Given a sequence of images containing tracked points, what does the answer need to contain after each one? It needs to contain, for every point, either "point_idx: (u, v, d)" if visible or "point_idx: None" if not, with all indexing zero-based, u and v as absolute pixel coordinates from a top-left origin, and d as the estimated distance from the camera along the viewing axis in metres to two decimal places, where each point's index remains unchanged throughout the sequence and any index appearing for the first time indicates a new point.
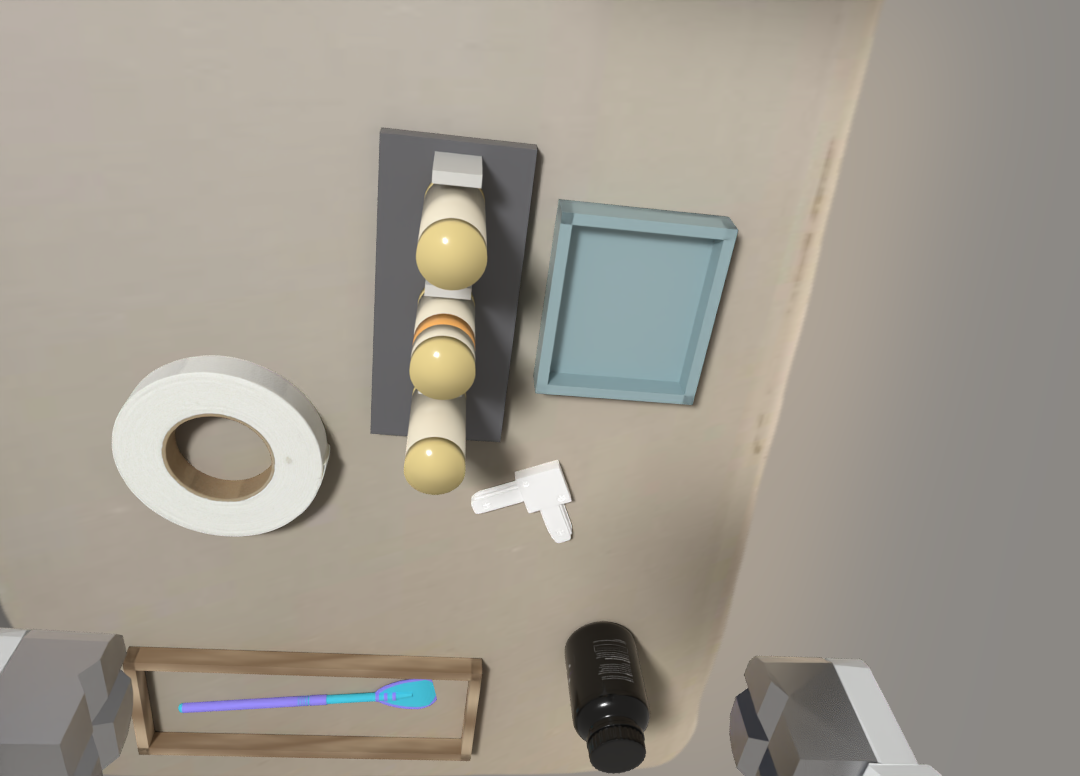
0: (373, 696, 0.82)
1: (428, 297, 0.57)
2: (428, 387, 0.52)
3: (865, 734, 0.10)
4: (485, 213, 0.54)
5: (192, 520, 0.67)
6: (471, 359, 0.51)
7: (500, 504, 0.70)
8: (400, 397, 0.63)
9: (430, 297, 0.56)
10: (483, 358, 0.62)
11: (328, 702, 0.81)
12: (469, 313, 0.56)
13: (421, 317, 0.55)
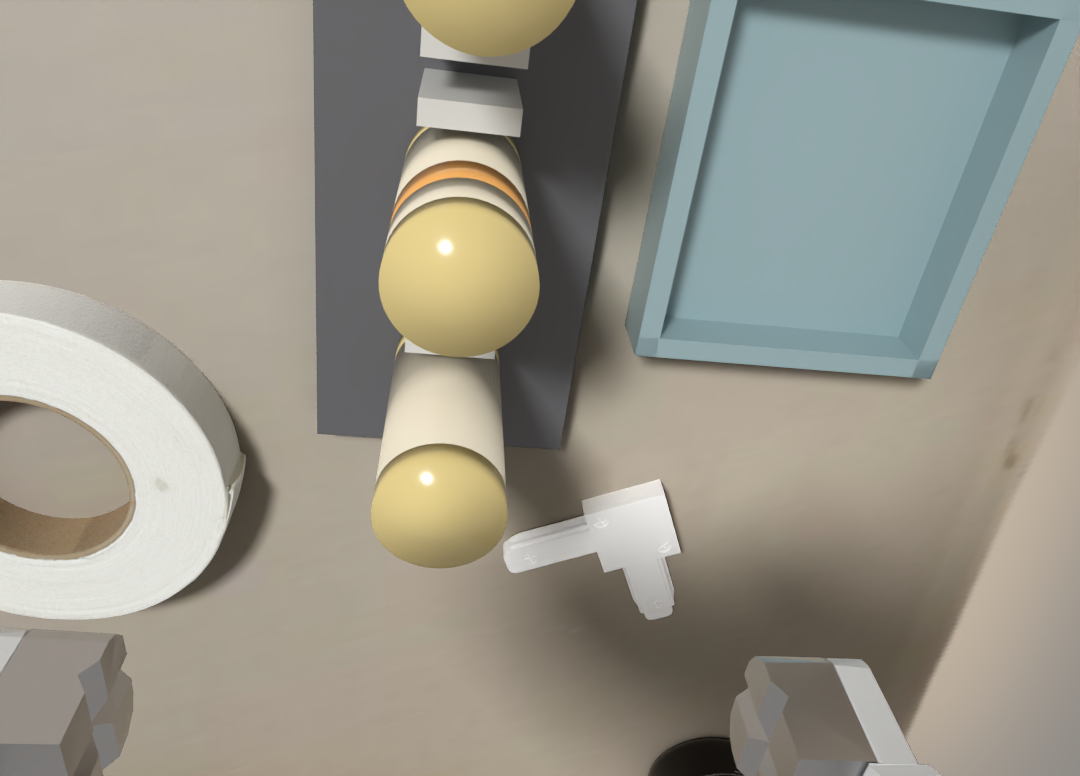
0: None
1: (425, 140, 0.26)
2: (425, 326, 0.22)
3: (865, 734, 0.10)
4: None
5: None
6: (531, 255, 0.21)
7: (555, 557, 0.40)
8: (372, 364, 0.33)
9: (430, 139, 0.26)
10: None
11: None
12: (515, 172, 0.25)
13: (409, 174, 0.24)
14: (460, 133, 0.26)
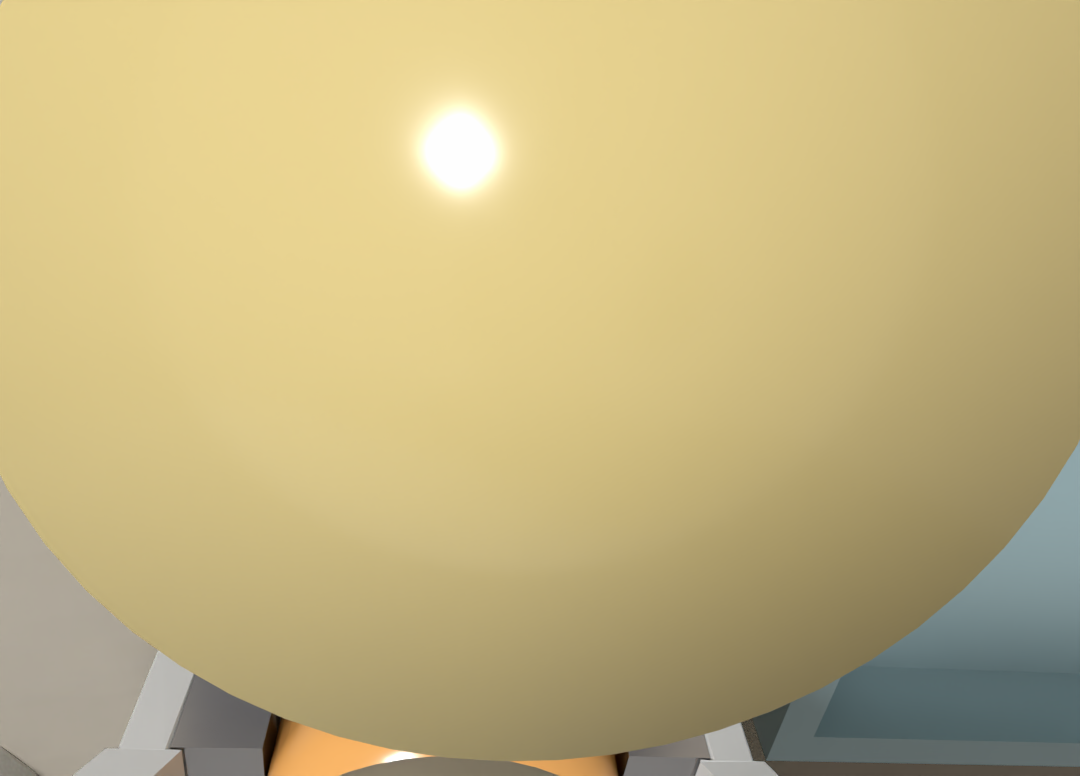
0: None
1: None
2: None
3: None
4: None
5: None
6: None
7: None
8: None
9: None
10: None
11: None
12: None
13: None
14: None
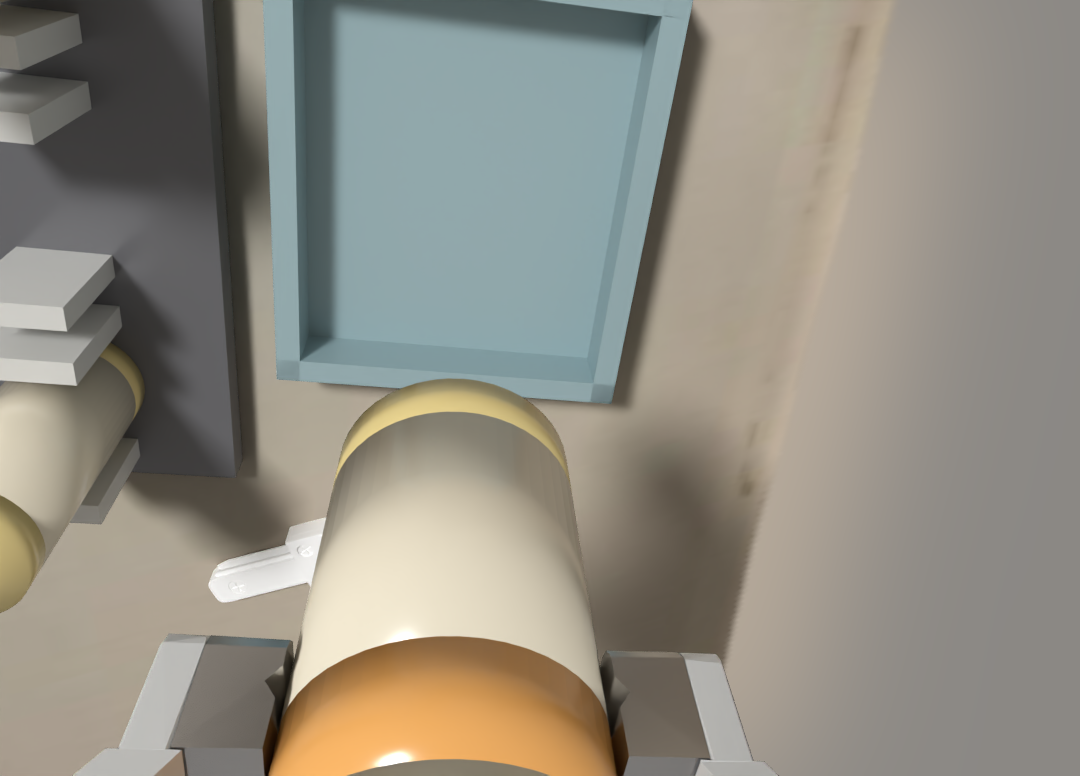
0: None
1: (370, 487, 0.12)
2: None
3: (703, 730, 0.10)
4: None
5: None
6: None
7: (265, 586, 0.37)
8: None
9: (379, 490, 0.12)
10: (164, 305, 0.29)
11: None
12: (570, 577, 0.11)
13: (321, 631, 0.10)
14: (445, 481, 0.12)
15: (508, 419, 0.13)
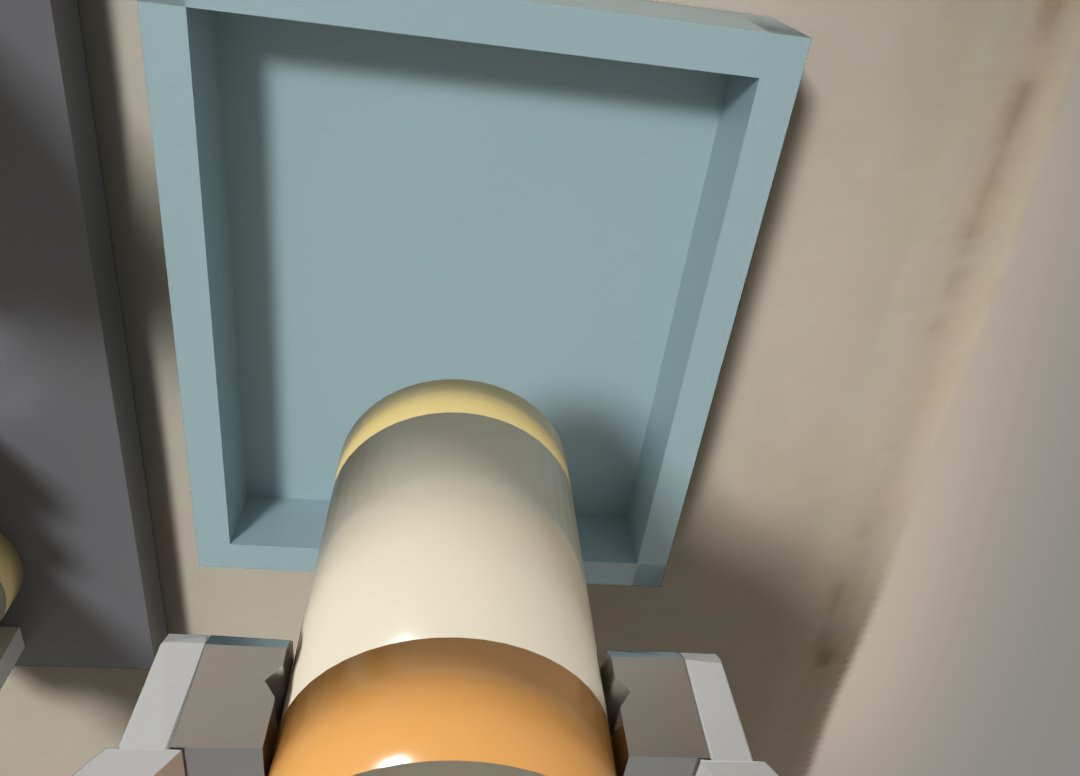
0: None
1: (370, 487, 0.12)
2: None
3: (703, 730, 0.10)
4: None
5: None
6: None
7: None
8: None
9: (379, 490, 0.12)
10: (39, 467, 0.21)
11: None
12: (571, 578, 0.11)
13: (321, 632, 0.10)
14: (446, 482, 0.12)
15: (508, 421, 0.13)
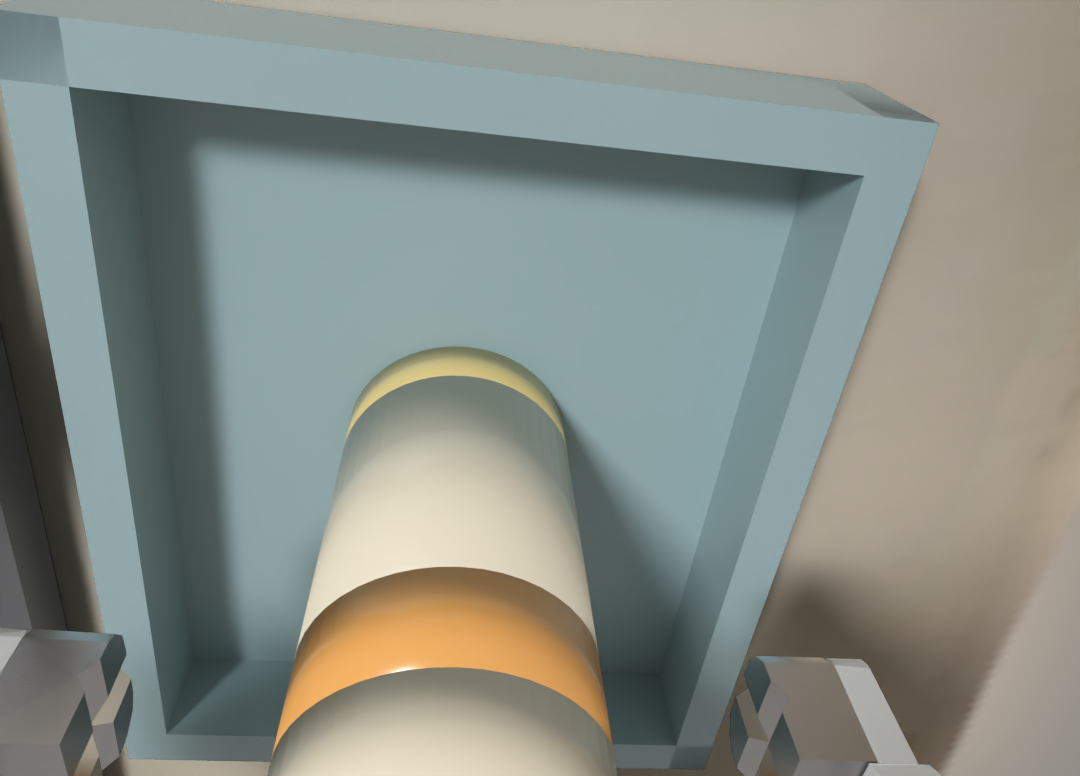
0: None
1: (379, 442, 0.13)
2: None
3: (865, 734, 0.10)
4: None
5: None
6: None
7: None
8: None
9: (387, 444, 0.13)
10: None
11: None
12: (564, 524, 0.12)
13: (334, 567, 0.11)
14: (449, 436, 0.12)
15: (508, 384, 0.14)
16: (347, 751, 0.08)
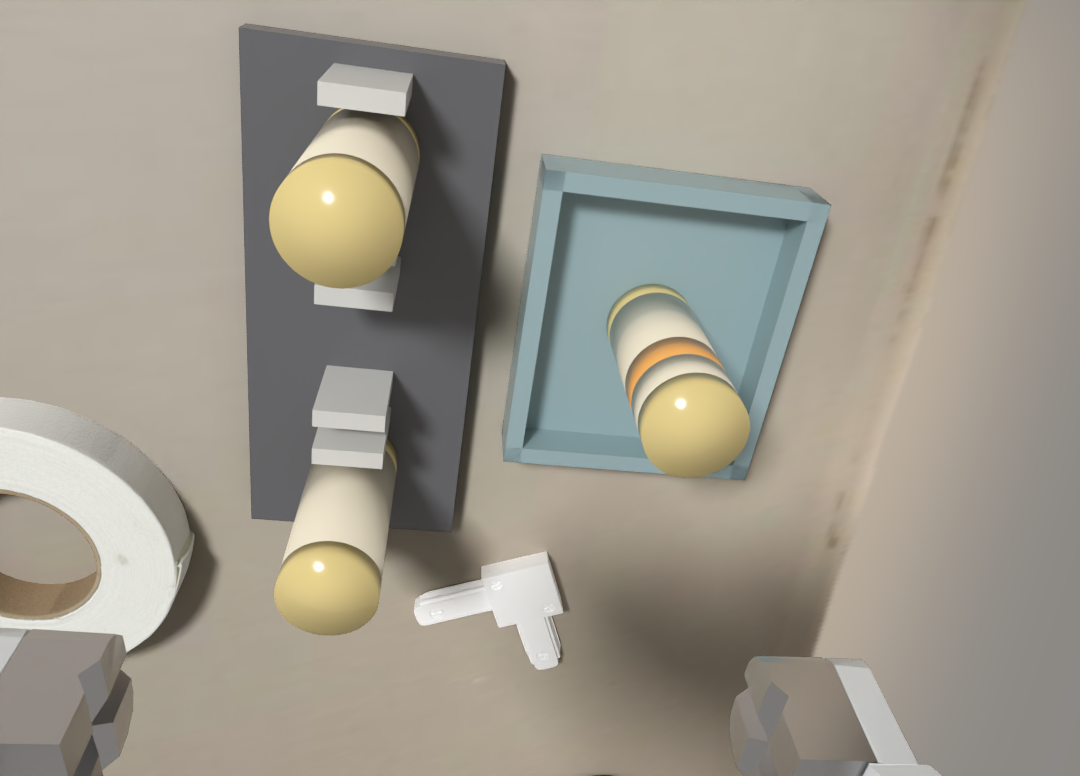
0: None
1: (638, 312, 0.36)
2: (668, 457, 0.32)
3: (865, 734, 0.10)
4: (416, 167, 0.32)
5: None
6: (746, 412, 0.31)
7: (457, 613, 0.47)
8: (295, 465, 0.41)
9: (642, 312, 0.36)
10: (423, 406, 0.40)
11: None
12: (706, 337, 0.36)
13: (638, 342, 0.34)
14: (665, 308, 0.36)
15: (677, 296, 0.38)
16: (669, 368, 0.32)
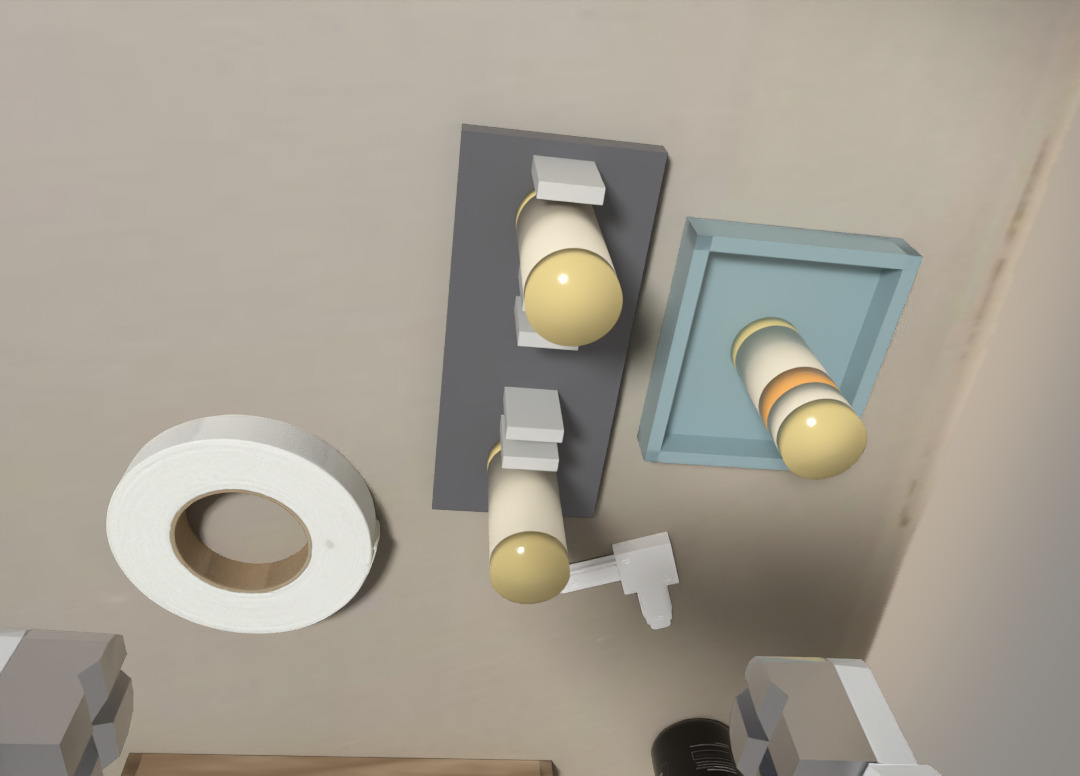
0: None
1: (763, 343, 0.45)
2: (802, 464, 0.40)
3: (865, 734, 0.10)
4: None
5: (207, 615, 0.53)
6: (864, 429, 0.40)
7: (591, 583, 0.56)
8: (471, 465, 0.50)
9: (767, 343, 0.45)
10: (579, 417, 0.49)
11: None
12: None
13: (769, 370, 0.43)
14: (786, 340, 0.45)
15: (792, 328, 0.46)
16: (802, 394, 0.40)
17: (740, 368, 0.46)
